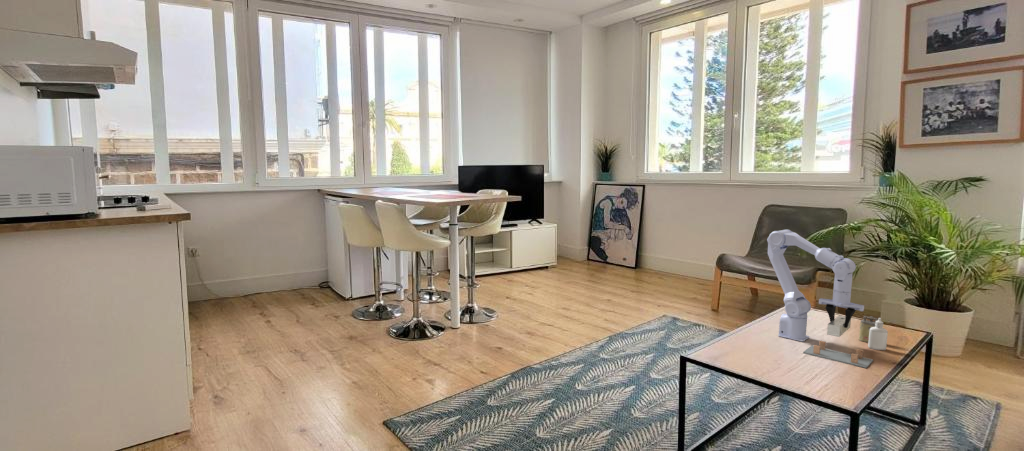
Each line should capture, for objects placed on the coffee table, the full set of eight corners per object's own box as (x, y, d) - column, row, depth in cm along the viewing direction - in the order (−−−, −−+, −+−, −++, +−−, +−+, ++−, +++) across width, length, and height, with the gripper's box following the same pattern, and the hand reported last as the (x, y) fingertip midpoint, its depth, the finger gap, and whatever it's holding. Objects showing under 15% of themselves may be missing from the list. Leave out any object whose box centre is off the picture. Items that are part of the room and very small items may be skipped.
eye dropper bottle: (883, 351, 199) (886, 321, 198) (866, 347, 204) (869, 317, 202) (887, 349, 202) (890, 318, 200) (870, 345, 206) (873, 315, 205)
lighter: (880, 342, 209) (882, 318, 208) (879, 345, 207) (881, 320, 205) (859, 338, 214) (861, 314, 213) (857, 340, 211) (859, 316, 210)
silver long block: (839, 337, 195) (840, 326, 194) (826, 334, 198) (827, 323, 197) (850, 327, 206) (851, 317, 206) (838, 325, 209) (839, 315, 208)
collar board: (803, 353, 197) (803, 344, 197) (811, 346, 204) (812, 337, 204) (866, 368, 183) (867, 358, 183) (873, 360, 190) (874, 351, 190)
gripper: (817, 289, 202) (814, 323, 204) (862, 296, 192) (858, 332, 194) (822, 286, 207) (820, 319, 209) (866, 292, 197) (863, 328, 199)
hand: (839, 325), depth 201 cm, fingers closed on silver long block, 4 cm apart
